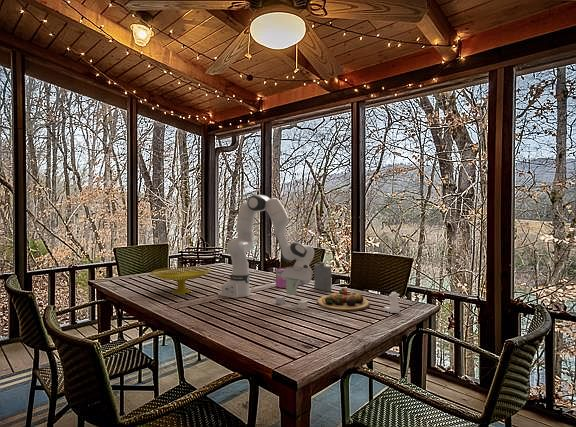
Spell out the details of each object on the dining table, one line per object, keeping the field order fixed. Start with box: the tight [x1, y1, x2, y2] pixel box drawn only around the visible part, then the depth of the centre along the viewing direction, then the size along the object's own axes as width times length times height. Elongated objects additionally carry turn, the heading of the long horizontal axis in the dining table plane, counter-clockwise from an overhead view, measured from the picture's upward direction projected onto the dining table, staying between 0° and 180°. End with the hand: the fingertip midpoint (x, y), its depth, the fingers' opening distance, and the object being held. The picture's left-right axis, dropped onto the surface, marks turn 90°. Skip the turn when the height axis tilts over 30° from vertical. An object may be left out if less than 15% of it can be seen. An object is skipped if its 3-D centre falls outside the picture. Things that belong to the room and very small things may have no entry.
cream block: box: [297, 299, 309, 310], centre depth 211 cm, size 4×4×4 cm
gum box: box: [275, 266, 306, 289], centre depth 273 cm, size 24×8×14 cm, turn 126°
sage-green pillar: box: [285, 279, 298, 296], centre depth 216 cm, size 4×4×8 cm
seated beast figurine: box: [382, 291, 401, 314], centre depth 203 cm, size 10×9×12 cm
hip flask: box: [313, 261, 332, 293], centre depth 259 cm, size 16×4×20 cm, turn 41°
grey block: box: [275, 295, 286, 305], centre depth 221 cm, size 4×4×4 cm
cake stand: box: [150, 265, 211, 295], centre depth 247 cm, size 40×40×15 cm
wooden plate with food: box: [316, 287, 370, 312], centre depth 220 cm, size 32×32×8 cm
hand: (290, 286), depth 216 cm, fingers closed on sage-green pillar, 4 cm apart
